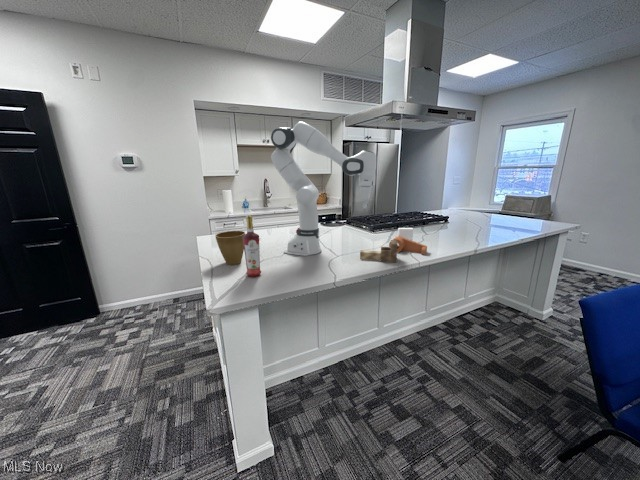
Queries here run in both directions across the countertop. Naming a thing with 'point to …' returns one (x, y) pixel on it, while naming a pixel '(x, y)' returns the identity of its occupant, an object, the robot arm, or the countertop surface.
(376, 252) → the rail
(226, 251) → the plant pot
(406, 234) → the white piece
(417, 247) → the crank
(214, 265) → the countertop surface
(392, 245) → the wooden u-shaped bracket
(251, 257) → the liquor
